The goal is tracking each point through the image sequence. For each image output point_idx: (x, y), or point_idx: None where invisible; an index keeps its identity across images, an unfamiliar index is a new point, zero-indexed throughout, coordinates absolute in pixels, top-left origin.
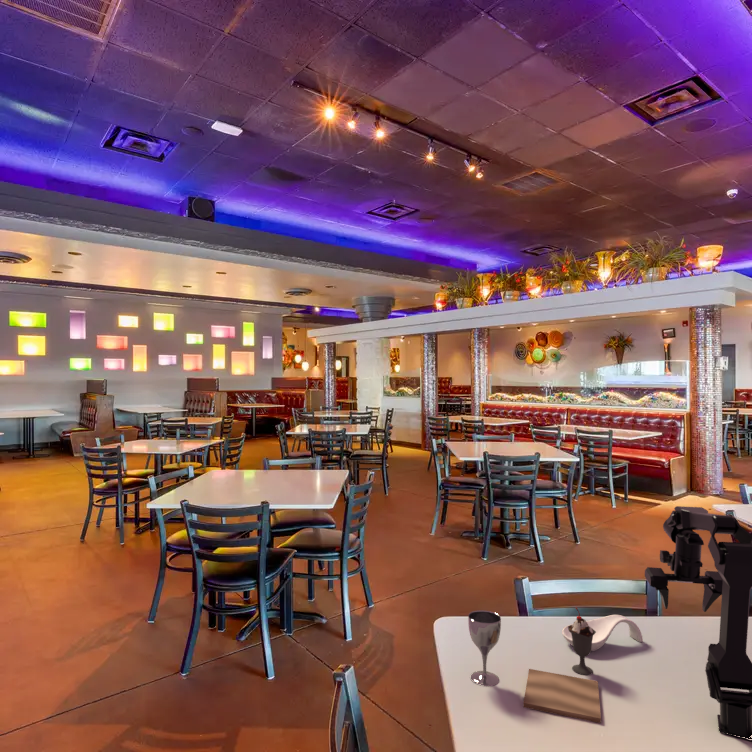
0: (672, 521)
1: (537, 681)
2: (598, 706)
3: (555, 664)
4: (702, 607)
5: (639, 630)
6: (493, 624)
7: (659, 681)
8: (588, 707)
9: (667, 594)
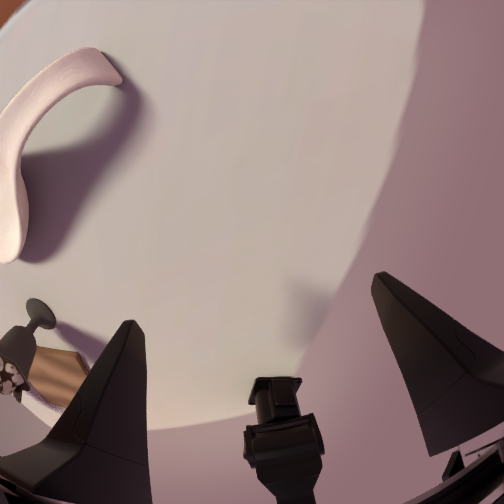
0: None
1: None
2: None
3: (9, 307)
4: (381, 283)
5: (98, 82)
6: None
7: (164, 310)
8: None
9: (143, 472)
